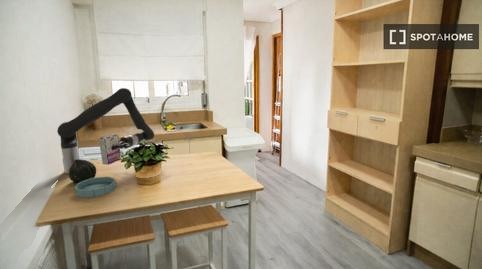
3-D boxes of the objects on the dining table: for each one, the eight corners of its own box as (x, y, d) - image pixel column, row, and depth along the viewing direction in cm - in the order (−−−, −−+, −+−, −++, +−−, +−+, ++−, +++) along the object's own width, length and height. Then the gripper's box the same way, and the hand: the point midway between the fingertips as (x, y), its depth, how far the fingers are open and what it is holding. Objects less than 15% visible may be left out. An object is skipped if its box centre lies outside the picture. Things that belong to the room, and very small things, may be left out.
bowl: (68, 194, 160) (66, 187, 159) (98, 181, 178) (98, 174, 177) (93, 200, 152) (92, 192, 151) (123, 185, 169) (122, 179, 169)
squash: (104, 167, 185) (85, 151, 182) (94, 177, 171) (73, 159, 167) (90, 182, 187) (71, 166, 184) (78, 192, 173) (57, 175, 170)
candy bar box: (115, 158, 186) (111, 133, 182) (121, 159, 184) (118, 133, 180) (101, 164, 175) (98, 137, 172) (108, 165, 174) (104, 138, 170)
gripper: (120, 134, 194) (99, 141, 179) (137, 136, 188) (116, 143, 173) (121, 145, 195) (100, 152, 180) (138, 147, 190) (118, 155, 175)
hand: (108, 148), depth 177 cm, fingers closed on candy bar box, 5 cm apart
